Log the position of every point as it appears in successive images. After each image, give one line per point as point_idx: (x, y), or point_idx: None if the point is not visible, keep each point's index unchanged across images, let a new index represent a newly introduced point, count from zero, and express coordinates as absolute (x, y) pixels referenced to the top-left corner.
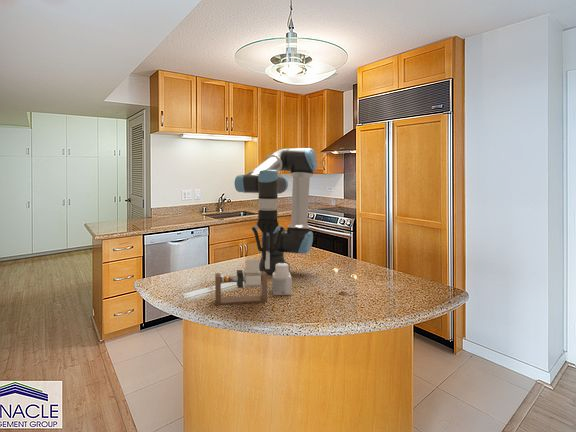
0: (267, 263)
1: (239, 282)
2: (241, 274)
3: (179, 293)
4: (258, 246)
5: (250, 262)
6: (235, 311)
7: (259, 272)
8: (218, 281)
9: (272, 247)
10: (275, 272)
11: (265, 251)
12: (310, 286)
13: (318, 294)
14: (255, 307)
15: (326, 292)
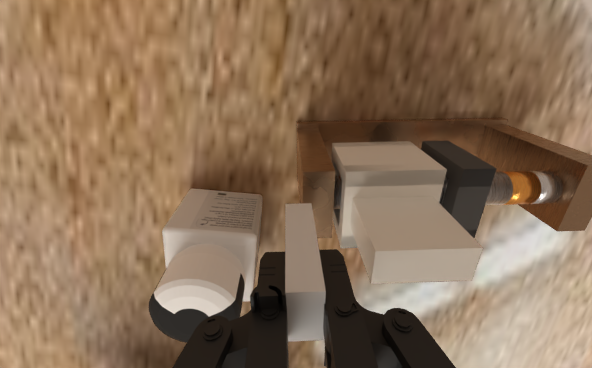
0: (303, 226)
1: (455, 149)
2: (471, 166)
3: (577, 248)
4: (441, 362)
5: (439, 234)
6: (446, 30)
7: (353, 185)
8: (573, 154)
9: (249, 352)
10: (240, 268)
11: (334, 304)
12: (109, 263)
13: (73, 178)
14: (355, 65)
15: (39, 196)
